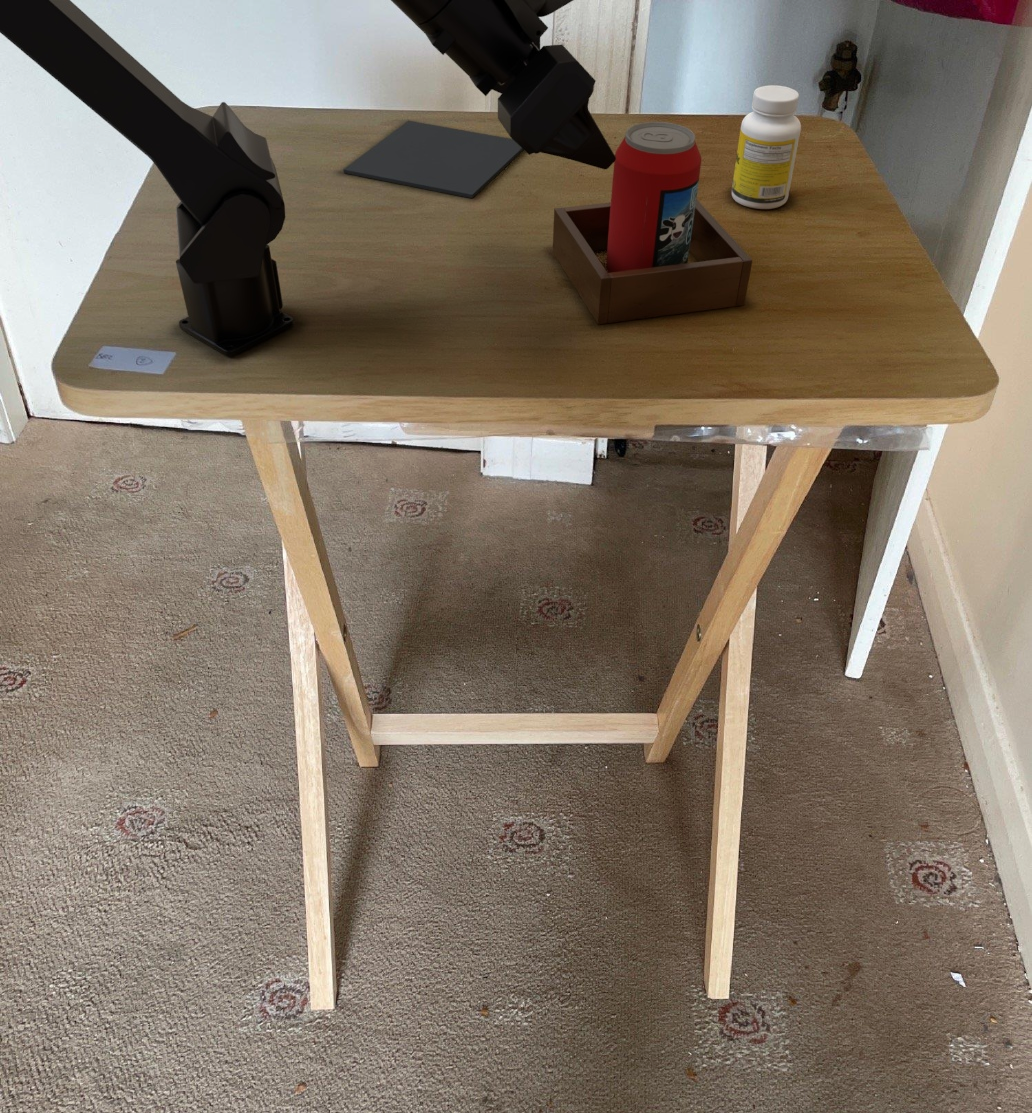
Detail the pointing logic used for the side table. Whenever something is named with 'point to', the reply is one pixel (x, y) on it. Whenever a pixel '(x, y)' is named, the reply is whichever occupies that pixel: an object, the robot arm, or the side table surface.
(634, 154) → the beverage can
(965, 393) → the side table surface
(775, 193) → the supplement bottle
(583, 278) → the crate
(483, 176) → the mat
